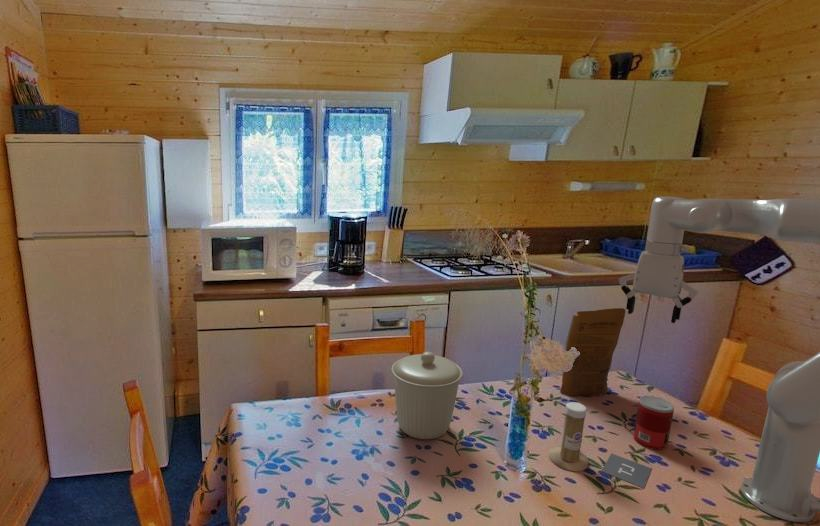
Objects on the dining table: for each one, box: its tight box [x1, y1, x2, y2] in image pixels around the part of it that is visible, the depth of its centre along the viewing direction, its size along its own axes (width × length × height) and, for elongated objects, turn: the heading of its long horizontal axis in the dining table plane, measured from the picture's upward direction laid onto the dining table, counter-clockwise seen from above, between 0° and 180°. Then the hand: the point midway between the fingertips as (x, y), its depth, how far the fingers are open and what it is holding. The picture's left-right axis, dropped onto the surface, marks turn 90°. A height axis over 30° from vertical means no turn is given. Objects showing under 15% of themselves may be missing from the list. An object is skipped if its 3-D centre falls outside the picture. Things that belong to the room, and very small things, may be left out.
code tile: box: [601, 452, 652, 489], centre depth 109 cm, size 9×9×1 cm
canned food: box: [633, 395, 675, 451], centre depth 120 cm, size 8×8×11 cm
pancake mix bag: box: [559, 307, 627, 397], centre depth 143 cm, size 7×19×28 cm, turn 101°
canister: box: [390, 351, 464, 440], centre depth 120 cm, size 18×18×21 cm
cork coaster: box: [548, 445, 589, 472], centre depth 112 cm, size 9×9×1 cm
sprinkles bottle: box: [560, 401, 587, 463], centre depth 111 cm, size 5×5×13 cm
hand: (651, 317), depth 115 cm, fingers open, 9 cm apart
